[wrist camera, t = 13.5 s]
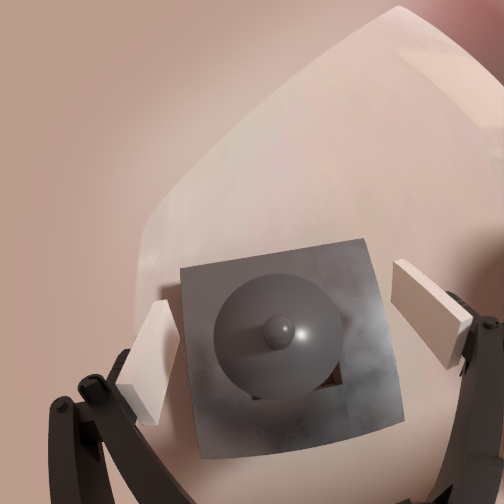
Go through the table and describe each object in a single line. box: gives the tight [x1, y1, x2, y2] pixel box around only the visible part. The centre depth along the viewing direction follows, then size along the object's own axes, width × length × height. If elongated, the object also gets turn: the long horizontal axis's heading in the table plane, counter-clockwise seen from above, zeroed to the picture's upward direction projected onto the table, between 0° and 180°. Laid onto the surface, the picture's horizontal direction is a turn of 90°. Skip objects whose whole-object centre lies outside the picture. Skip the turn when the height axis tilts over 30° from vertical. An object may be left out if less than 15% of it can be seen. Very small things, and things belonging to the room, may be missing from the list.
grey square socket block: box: [180, 238, 405, 459], centre depth 19 cm, size 14×14×3 cm
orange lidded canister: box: [213, 274, 343, 400], centre depth 14 cm, size 5×5×14 cm
